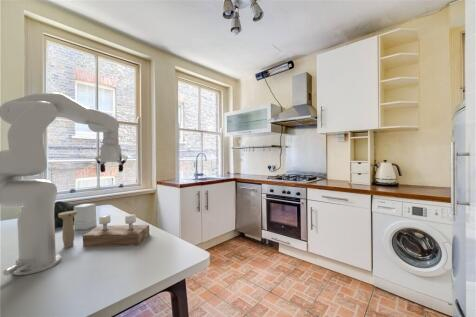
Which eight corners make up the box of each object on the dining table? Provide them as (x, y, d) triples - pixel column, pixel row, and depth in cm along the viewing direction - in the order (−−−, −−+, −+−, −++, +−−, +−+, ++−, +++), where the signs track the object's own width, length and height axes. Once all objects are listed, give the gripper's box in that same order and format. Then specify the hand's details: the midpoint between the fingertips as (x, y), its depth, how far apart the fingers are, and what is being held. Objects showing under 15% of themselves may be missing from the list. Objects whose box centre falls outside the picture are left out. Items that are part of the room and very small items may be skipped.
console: (137, 245, 89) (137, 234, 89) (83, 246, 89) (82, 235, 89) (149, 234, 101) (149, 224, 101) (101, 235, 101) (100, 225, 101)
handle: (57, 247, 89) (56, 213, 88) (75, 242, 94) (74, 210, 94) (61, 250, 86) (60, 215, 86) (79, 244, 91) (78, 211, 91)
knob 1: (107, 233, 93) (106, 217, 93) (97, 234, 93) (96, 217, 93) (112, 230, 97) (112, 214, 97) (103, 230, 97) (103, 215, 97)
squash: (79, 209, 132) (58, 195, 124) (86, 214, 122) (64, 199, 114) (58, 228, 124) (34, 214, 116) (63, 235, 115) (38, 220, 106)
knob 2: (133, 233, 93) (132, 217, 93) (123, 233, 93) (123, 217, 93) (137, 229, 98) (137, 214, 97) (128, 229, 97) (128, 214, 97)
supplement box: (97, 225, 117) (96, 203, 117) (86, 229, 110) (85, 206, 110) (85, 224, 118) (84, 203, 118) (73, 229, 111) (73, 206, 110)
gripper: (91, 142, 112) (92, 172, 113) (123, 141, 114) (124, 172, 114) (98, 142, 120) (99, 171, 120) (129, 142, 122) (130, 171, 122)
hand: (111, 171), depth 117 cm, fingers open, 9 cm apart
